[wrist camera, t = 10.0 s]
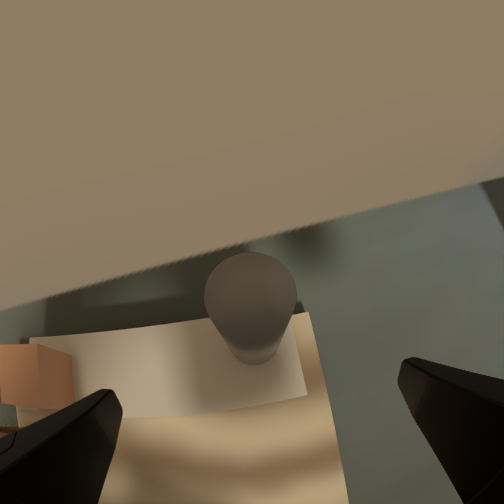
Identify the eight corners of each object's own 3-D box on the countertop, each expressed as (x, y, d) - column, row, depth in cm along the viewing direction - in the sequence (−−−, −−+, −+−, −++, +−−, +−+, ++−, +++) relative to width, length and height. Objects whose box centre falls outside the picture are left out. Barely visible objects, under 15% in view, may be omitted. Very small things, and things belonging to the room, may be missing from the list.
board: (351, 536, 12) (355, 542, 12) (55, 535, 11) (48, 538, 10) (305, 315, 21) (308, 311, 20) (20, 350, 19) (12, 347, 18)
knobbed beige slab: (305, 394, 17) (354, 396, 8) (40, 412, 16) (-60, 399, 7) (285, 307, 20) (308, 228, 11) (36, 340, 18) (-56, 297, 9)
